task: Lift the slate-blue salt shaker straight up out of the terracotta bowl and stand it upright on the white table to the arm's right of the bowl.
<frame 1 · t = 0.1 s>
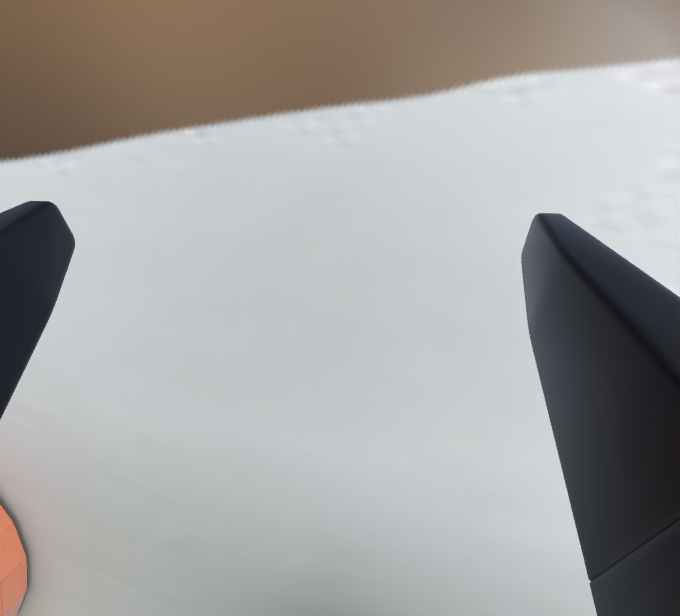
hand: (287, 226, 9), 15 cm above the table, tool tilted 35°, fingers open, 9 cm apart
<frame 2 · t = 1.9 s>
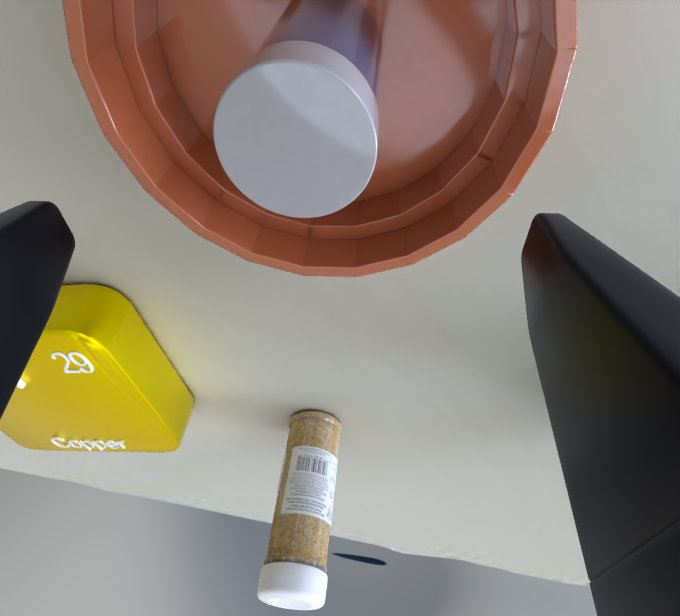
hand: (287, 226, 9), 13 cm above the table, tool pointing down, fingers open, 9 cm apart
sprinkles bottle: (317, 420, 40), on the table
bowl: (328, 52, 18), on the table
salt shaker: (327, 55, 18), resting on bowl
element tile: (80, 353, 36), on the table
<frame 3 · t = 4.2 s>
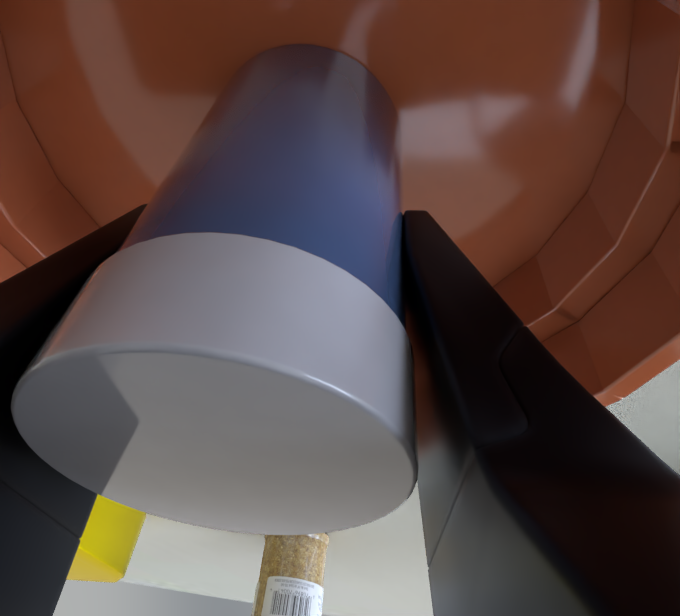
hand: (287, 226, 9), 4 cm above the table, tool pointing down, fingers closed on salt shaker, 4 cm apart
sprinkles bottle: (298, 529, 32), on the table
bowl: (310, 139, 11), on the table
salt shaker: (308, 145, 11), resting on bowl, touching gripper
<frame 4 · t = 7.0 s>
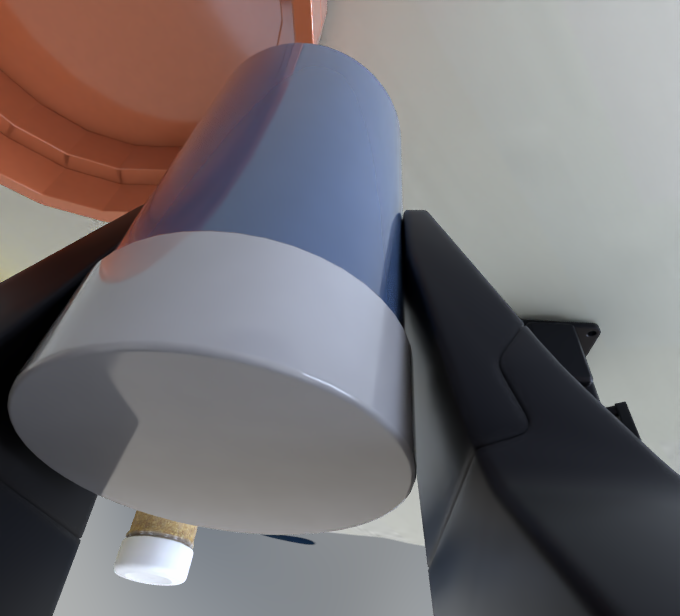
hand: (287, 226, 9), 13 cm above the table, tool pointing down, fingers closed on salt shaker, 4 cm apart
sprinkles bottle: (207, 393, 38), on the table
salt shaker: (307, 144, 11), point 10 cm above the table, touching gripper
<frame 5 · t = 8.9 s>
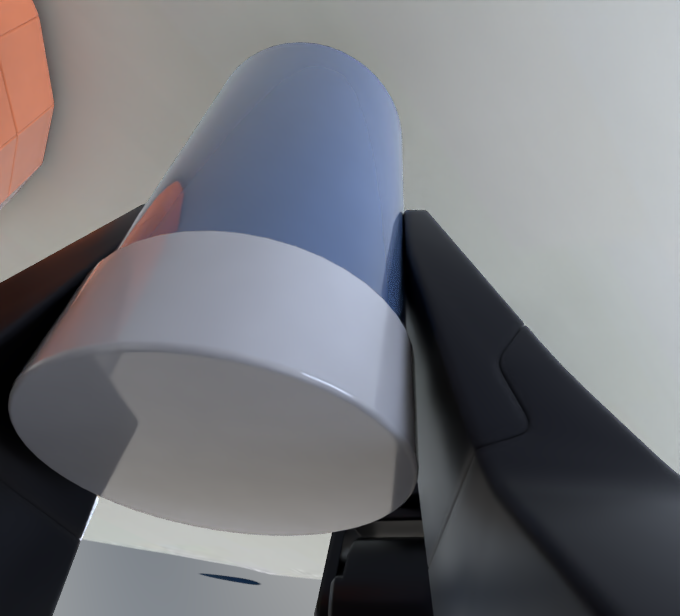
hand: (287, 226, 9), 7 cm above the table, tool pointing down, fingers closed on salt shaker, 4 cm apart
salt shaker: (308, 144, 11), point 4 cm above the table, touching gripper
when the fingers open (3 cm above the table, at t = 10.3 s): salt shaker stays where it is, on the table.
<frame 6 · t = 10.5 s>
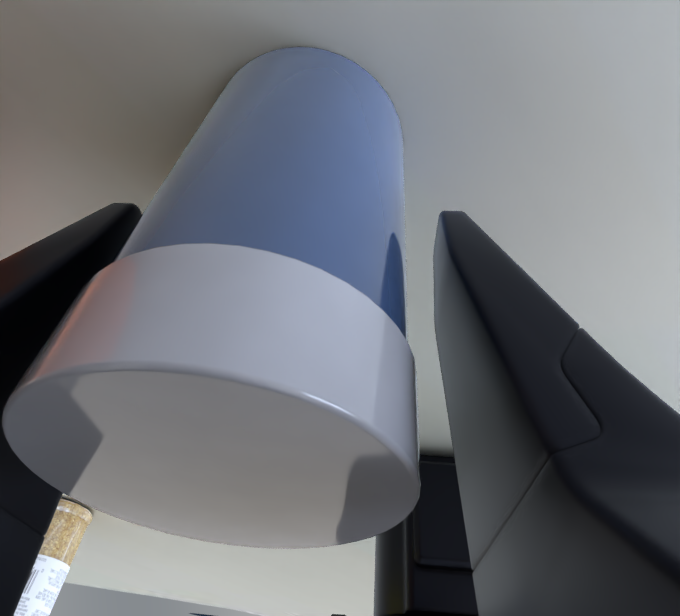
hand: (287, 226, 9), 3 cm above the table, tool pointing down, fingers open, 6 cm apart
sprinkles bottle: (62, 503, 31), on the table
salt shaker: (308, 148, 11), on the table
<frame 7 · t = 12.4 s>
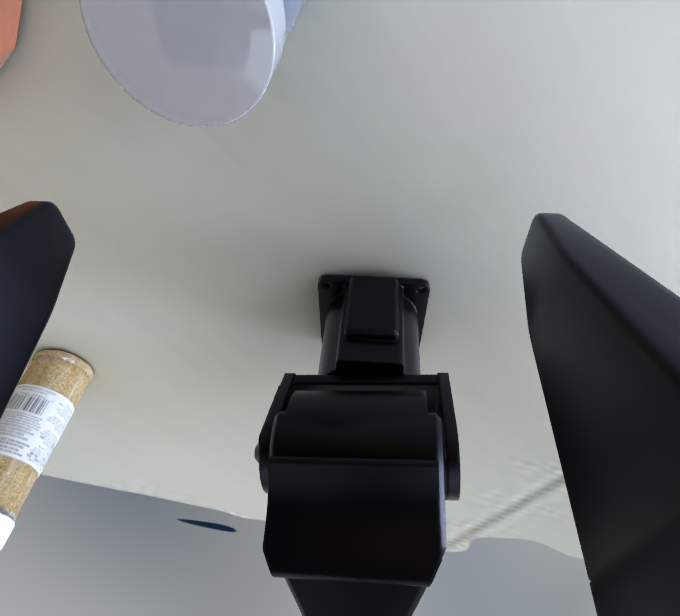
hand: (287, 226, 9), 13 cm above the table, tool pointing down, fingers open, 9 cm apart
sprinkles bottle: (67, 362, 37), on the table
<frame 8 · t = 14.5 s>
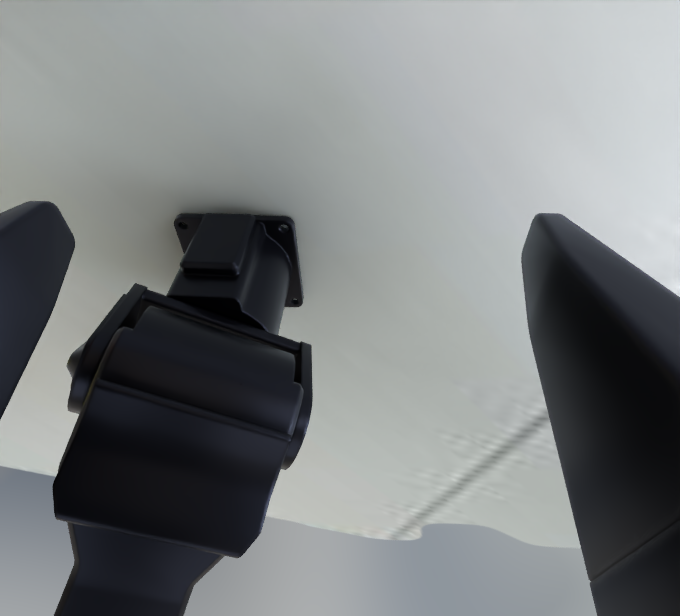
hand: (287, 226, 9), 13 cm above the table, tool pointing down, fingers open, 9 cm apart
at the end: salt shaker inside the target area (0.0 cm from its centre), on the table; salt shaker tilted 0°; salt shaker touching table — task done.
